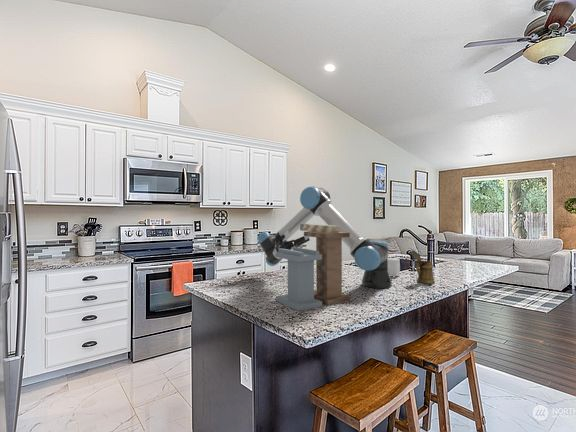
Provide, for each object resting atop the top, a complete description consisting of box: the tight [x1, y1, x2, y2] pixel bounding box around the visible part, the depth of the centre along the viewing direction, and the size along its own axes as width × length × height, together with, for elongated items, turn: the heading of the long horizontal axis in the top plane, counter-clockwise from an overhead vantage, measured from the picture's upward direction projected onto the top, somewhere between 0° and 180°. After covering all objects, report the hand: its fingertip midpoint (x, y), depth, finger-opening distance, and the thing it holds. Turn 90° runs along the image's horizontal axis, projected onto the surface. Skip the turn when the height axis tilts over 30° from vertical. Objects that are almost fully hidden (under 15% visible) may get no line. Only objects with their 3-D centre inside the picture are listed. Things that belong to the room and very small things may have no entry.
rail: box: [299, 223, 339, 233], centre depth 156 cm, size 26×3×3 cm, turn 31°
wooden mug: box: [410, 249, 436, 285], centre depth 184 cm, size 9×14×18 cm, turn 108°
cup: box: [388, 257, 401, 277], centre depth 202 cm, size 8×12×10 cm
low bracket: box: [275, 246, 323, 312], centre depth 143 cm, size 18×12×23 cm, turn 31°
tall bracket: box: [303, 231, 351, 306], centre depth 151 cm, size 18×12×30 cm, turn 31°
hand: (299, 232), depth 168 cm, fingers open, 13 cm apart
